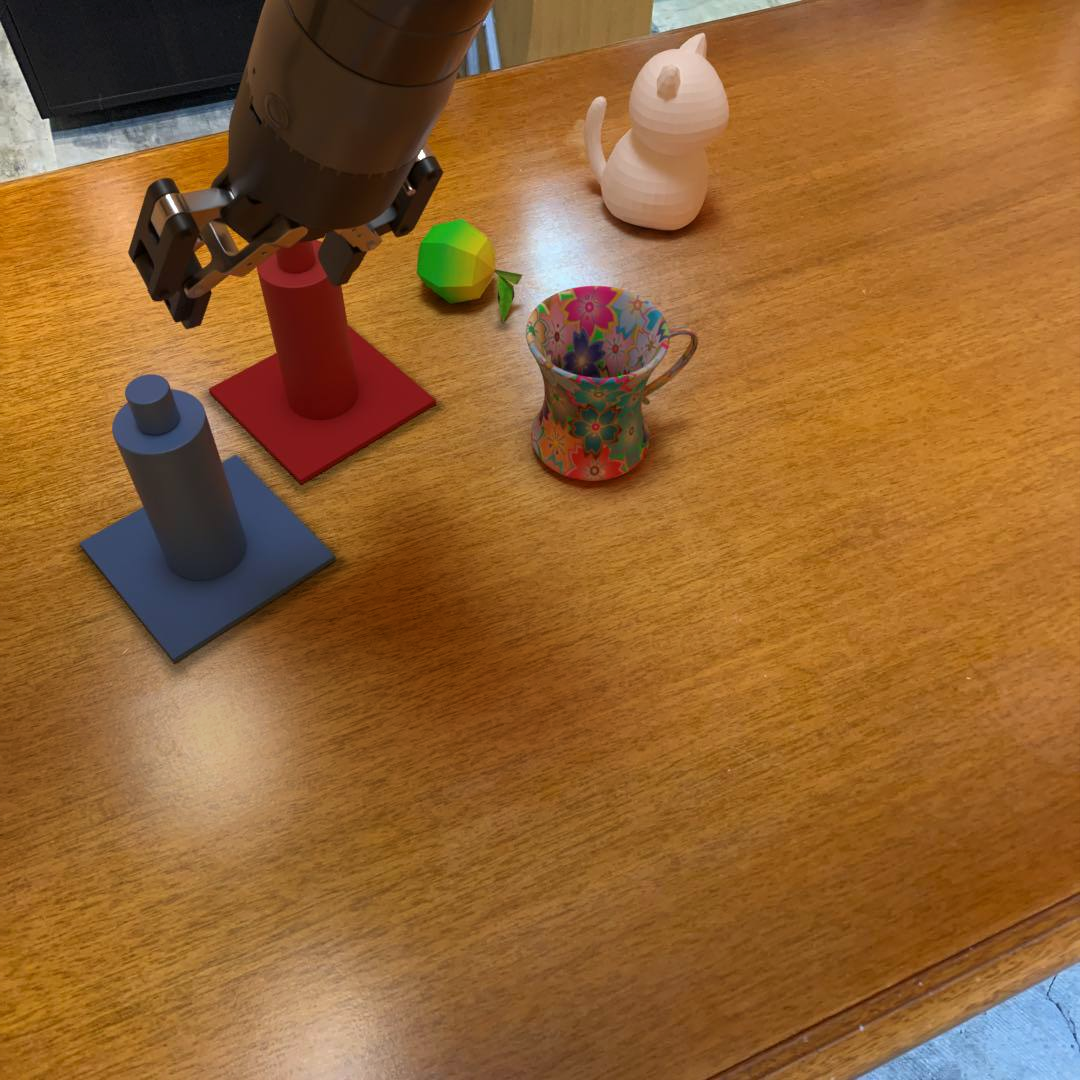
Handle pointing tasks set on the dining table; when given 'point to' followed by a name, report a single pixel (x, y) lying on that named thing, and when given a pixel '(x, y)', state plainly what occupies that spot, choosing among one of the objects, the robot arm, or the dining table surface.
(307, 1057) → the dining table surface
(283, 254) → the red bottle
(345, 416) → the red mat
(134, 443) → the blue bottle
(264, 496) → the blue mat
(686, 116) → the cat figurine
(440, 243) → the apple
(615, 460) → the mug
